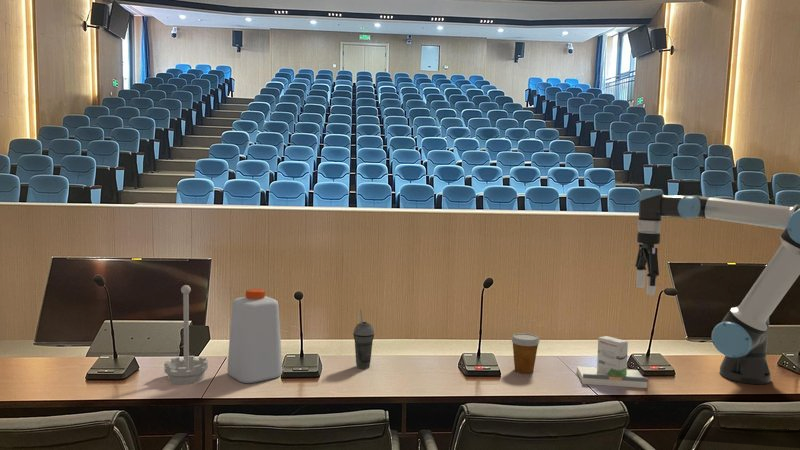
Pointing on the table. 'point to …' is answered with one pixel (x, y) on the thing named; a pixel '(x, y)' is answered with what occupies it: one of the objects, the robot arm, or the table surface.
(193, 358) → the flag stand
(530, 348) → the disposable coffee cup
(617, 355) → the ink box
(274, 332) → the plastic bottle
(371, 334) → the beverage cup
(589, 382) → the white slab
